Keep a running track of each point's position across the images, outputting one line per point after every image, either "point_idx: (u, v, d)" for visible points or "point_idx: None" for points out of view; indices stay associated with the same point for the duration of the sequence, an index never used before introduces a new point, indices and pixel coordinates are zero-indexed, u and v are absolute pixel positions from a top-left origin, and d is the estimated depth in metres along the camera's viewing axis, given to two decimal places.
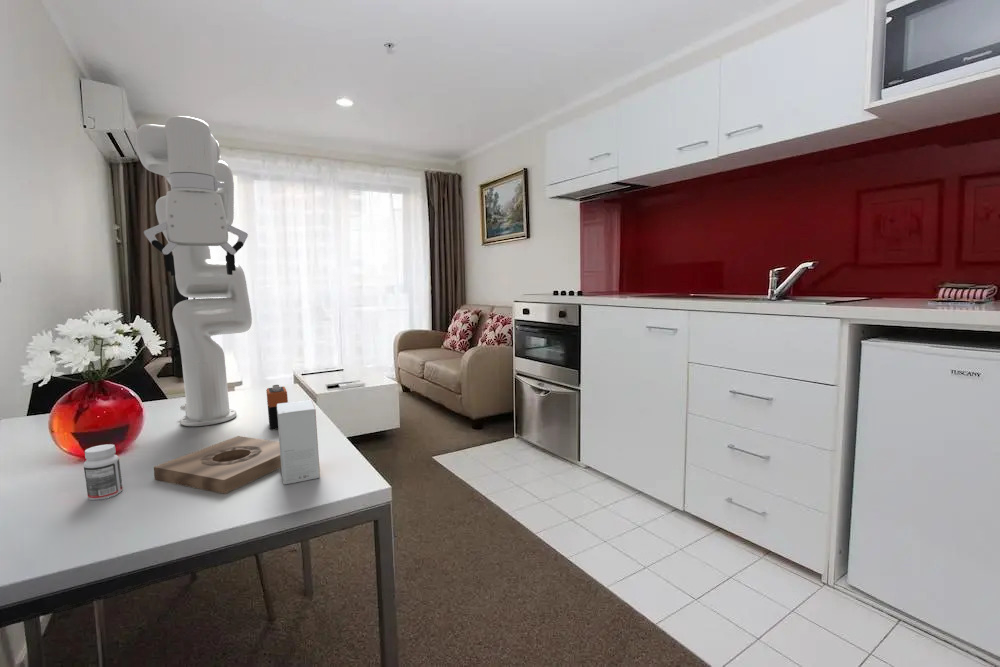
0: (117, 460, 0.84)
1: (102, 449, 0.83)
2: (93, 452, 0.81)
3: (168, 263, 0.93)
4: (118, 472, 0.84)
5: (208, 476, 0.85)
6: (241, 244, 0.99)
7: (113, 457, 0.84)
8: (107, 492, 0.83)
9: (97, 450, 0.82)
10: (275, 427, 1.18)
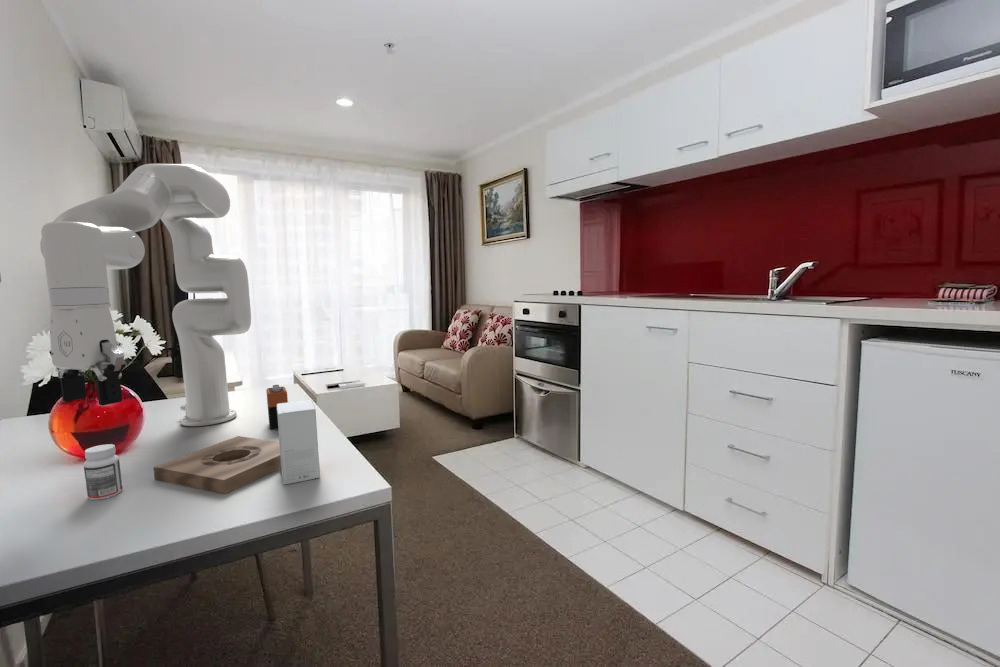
0: (117, 460, 0.84)
1: (102, 449, 0.83)
2: (93, 452, 0.81)
3: None
4: (118, 472, 0.84)
5: (208, 476, 0.85)
6: None
7: (113, 457, 0.84)
8: (107, 492, 0.83)
9: (97, 450, 0.82)
10: (275, 427, 1.18)
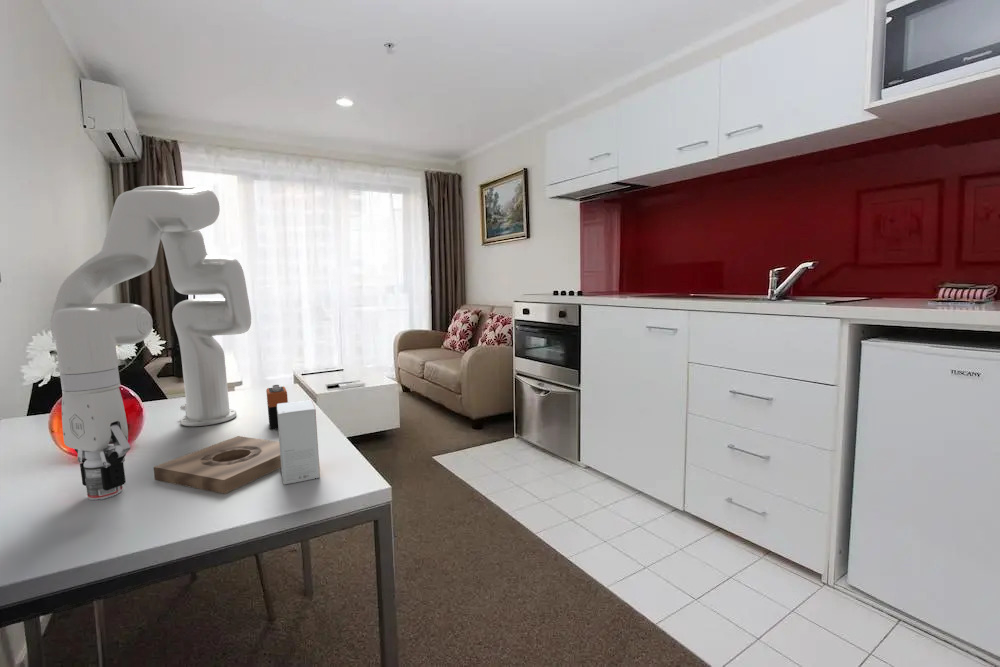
0: None
1: None
2: (93, 452, 0.81)
3: None
4: None
5: (208, 476, 0.85)
6: None
7: None
8: (107, 492, 0.83)
9: None
10: (275, 427, 1.18)
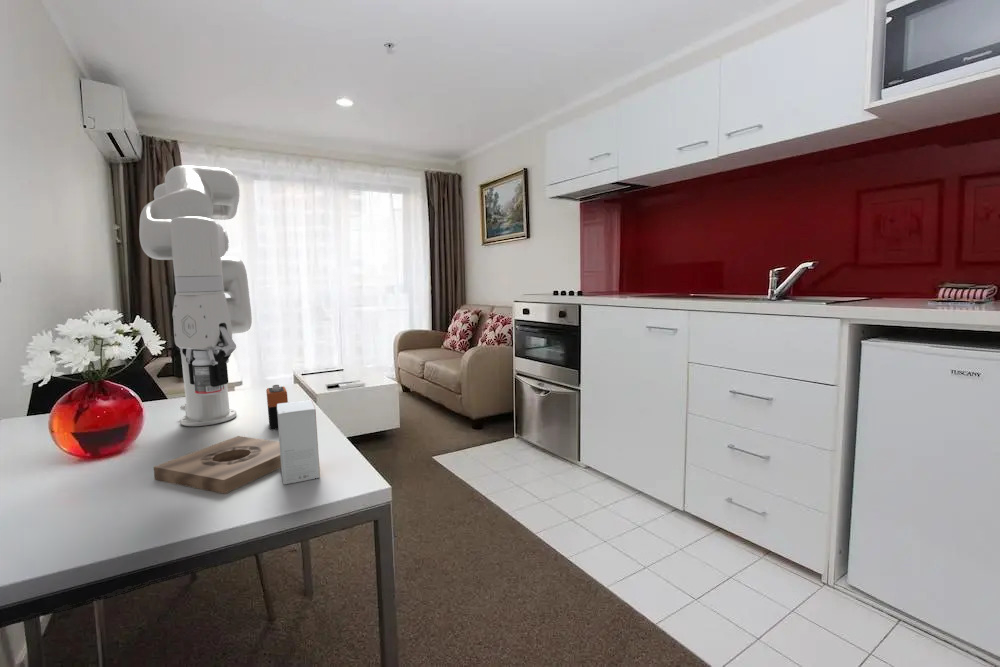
0: None
1: None
2: (201, 351, 0.89)
3: None
4: None
5: (208, 476, 0.85)
6: None
7: None
8: (213, 389, 0.90)
9: (204, 350, 0.90)
10: (275, 427, 1.18)
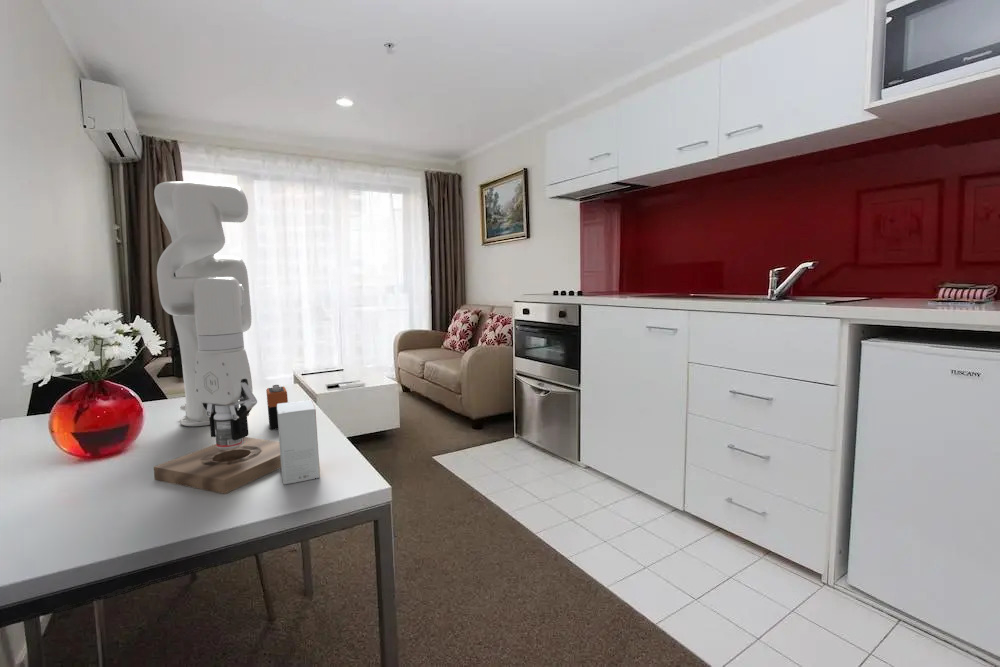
0: None
1: None
2: (223, 406, 0.92)
3: None
4: None
5: (208, 476, 0.85)
6: None
7: None
8: (234, 442, 0.93)
9: None
10: (275, 427, 1.18)
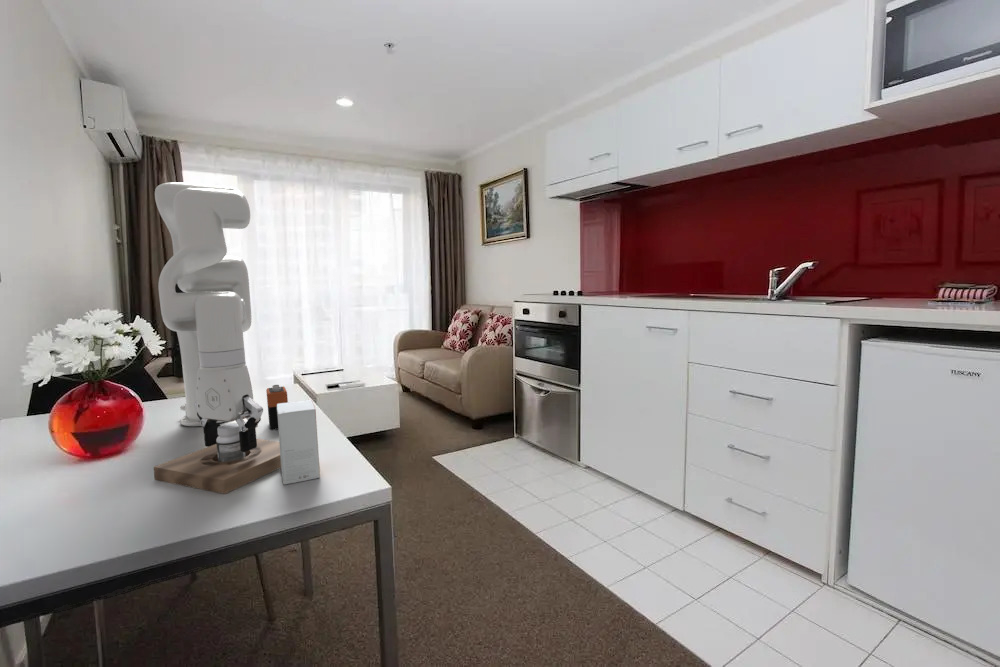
0: None
1: (232, 427, 0.93)
2: (226, 429, 0.92)
3: None
4: None
5: (208, 476, 0.85)
6: None
7: None
8: None
9: (228, 428, 0.93)
10: (275, 427, 1.18)
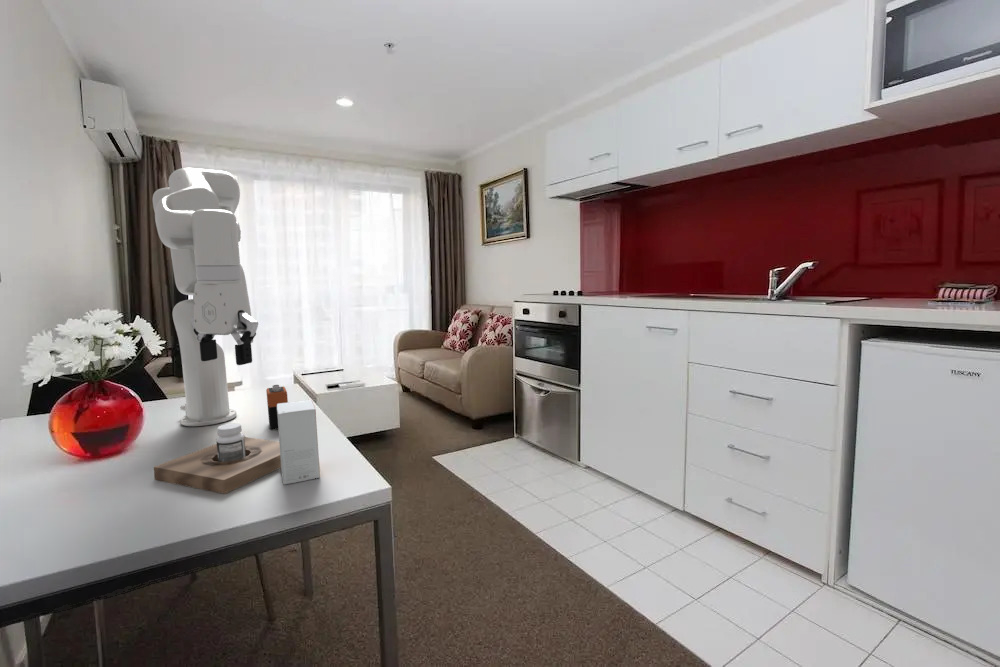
0: (243, 437, 0.95)
1: (232, 427, 0.93)
2: (226, 429, 0.92)
3: None
4: (244, 448, 0.95)
5: (208, 476, 0.85)
6: None
7: (240, 434, 0.95)
8: None
9: (228, 428, 0.93)
10: (275, 427, 1.18)
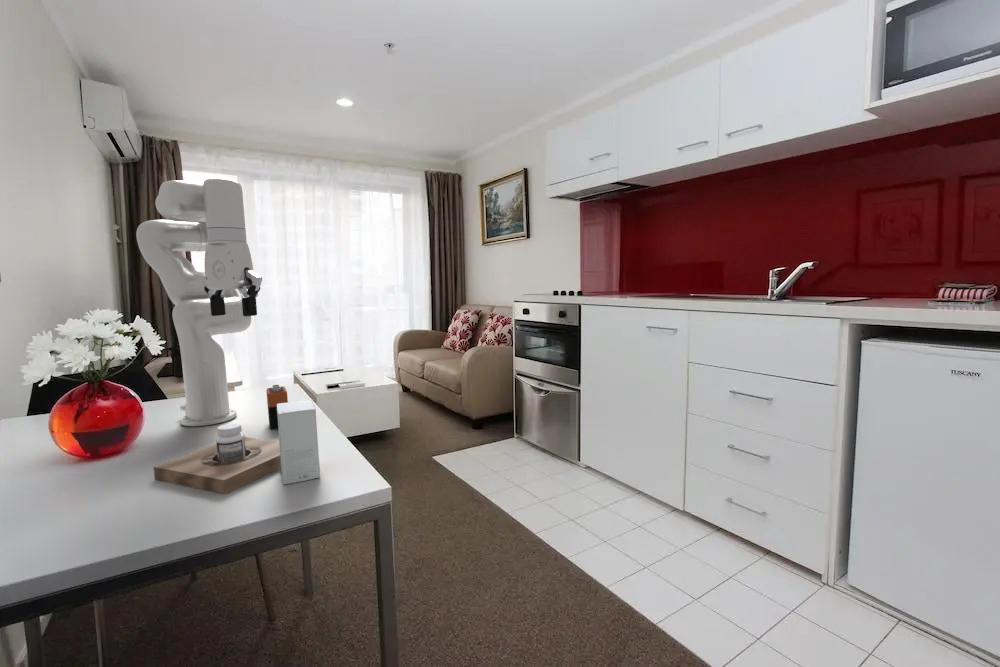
0: (243, 437, 0.95)
1: (232, 427, 0.93)
2: (226, 429, 0.92)
3: None
4: (244, 448, 0.95)
5: (208, 476, 0.85)
6: None
7: (240, 434, 0.95)
8: None
9: (228, 428, 0.93)
10: (275, 427, 1.18)
